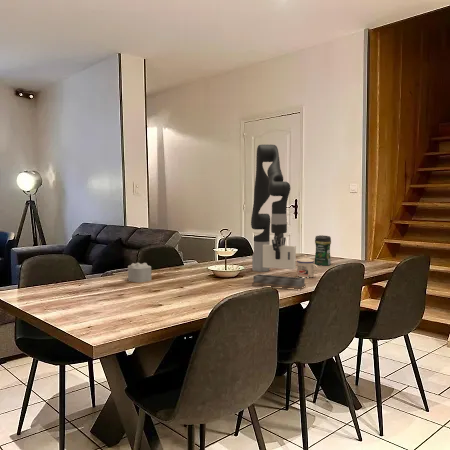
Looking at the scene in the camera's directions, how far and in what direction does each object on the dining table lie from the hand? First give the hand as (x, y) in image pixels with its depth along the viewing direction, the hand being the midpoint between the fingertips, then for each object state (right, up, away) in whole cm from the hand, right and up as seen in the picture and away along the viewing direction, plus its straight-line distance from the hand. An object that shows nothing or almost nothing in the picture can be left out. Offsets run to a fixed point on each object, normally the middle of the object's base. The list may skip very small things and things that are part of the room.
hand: (278, 258), depth 217 cm
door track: (0, -14, +1) cm, 14 cm away
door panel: (0, -5, 0) cm, 5 cm away
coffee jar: (+35, -9, +64) cm, 73 cm away
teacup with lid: (+18, -12, +24) cm, 33 cm away
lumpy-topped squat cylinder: (-72, -13, +19) cm, 75 cm away
